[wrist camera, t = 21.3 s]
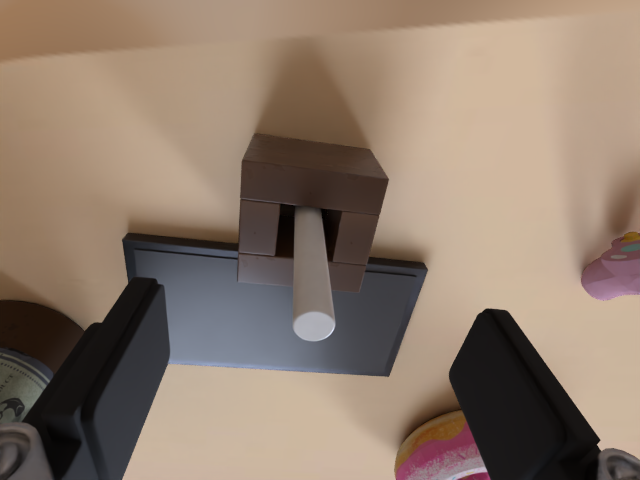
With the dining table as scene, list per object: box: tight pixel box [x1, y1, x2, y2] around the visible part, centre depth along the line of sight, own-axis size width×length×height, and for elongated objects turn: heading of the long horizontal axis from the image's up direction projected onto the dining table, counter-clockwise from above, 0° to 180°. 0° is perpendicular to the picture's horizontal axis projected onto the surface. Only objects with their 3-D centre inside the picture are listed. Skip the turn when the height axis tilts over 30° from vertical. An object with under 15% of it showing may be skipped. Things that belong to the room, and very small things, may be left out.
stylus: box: [293, 205, 335, 341], centre depth 17 cm, size 1×1×12 cm
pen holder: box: [237, 134, 389, 293], centre depth 20 cm, size 7×7×5 cm
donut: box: [394, 410, 491, 480], centre depth 34 cm, size 14×13×5 cm
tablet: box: [122, 233, 428, 377], centre depth 26 cm, size 11×20×1 cm, turn 81°
